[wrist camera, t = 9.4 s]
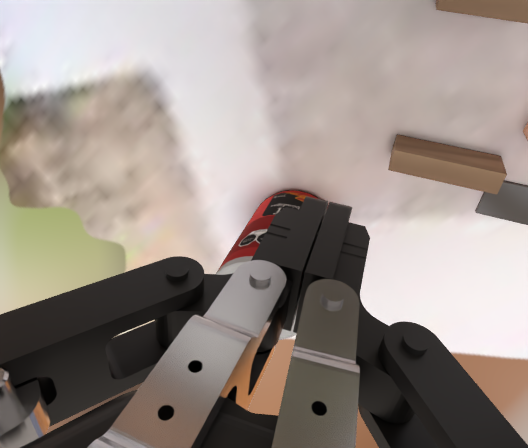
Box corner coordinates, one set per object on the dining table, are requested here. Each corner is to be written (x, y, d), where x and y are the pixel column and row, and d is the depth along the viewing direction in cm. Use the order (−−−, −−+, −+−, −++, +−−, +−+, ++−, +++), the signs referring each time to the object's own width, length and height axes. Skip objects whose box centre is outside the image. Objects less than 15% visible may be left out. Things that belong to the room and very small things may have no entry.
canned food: (355, 221, 38) (333, 306, 29) (304, 270, 43) (272, 356, 34) (286, 170, 37) (242, 241, 28) (242, 226, 42) (193, 301, 33)
